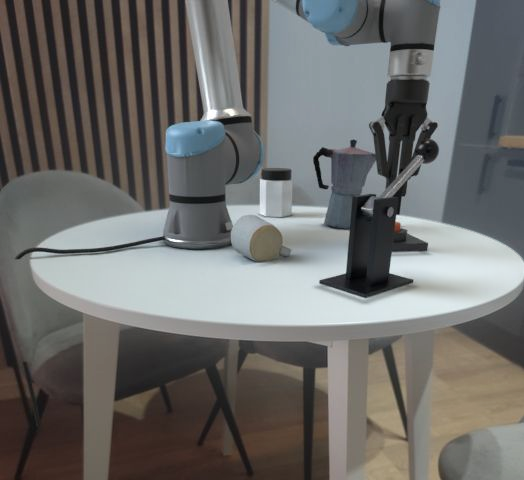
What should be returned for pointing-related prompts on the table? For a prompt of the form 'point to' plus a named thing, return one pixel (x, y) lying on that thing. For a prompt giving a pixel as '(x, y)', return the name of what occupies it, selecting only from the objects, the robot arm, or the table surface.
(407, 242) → the control block
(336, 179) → the moka pot
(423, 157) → the lever
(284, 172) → the jar
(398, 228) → the button
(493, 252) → the table surface
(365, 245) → the bracket
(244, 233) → the ceramic mug
